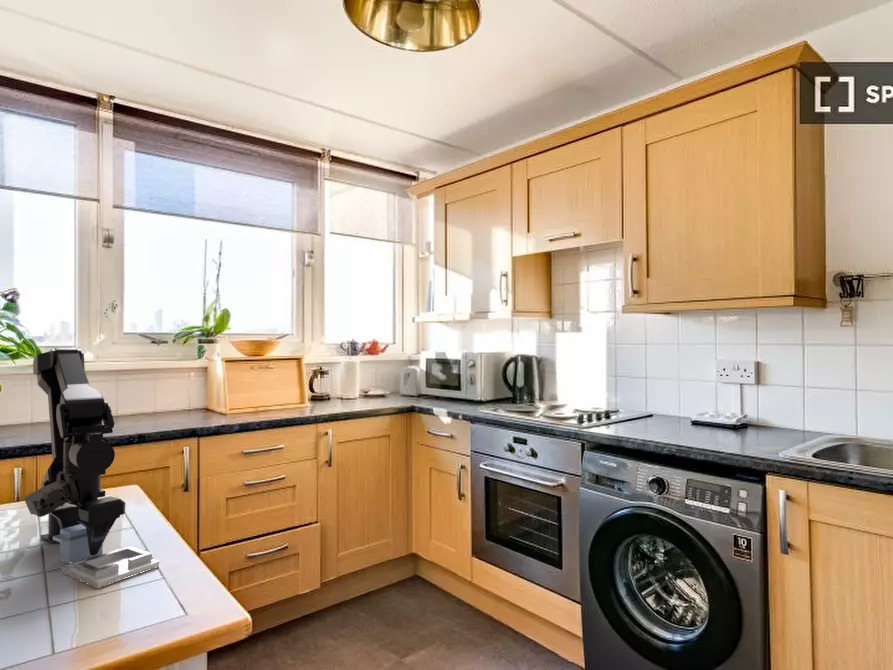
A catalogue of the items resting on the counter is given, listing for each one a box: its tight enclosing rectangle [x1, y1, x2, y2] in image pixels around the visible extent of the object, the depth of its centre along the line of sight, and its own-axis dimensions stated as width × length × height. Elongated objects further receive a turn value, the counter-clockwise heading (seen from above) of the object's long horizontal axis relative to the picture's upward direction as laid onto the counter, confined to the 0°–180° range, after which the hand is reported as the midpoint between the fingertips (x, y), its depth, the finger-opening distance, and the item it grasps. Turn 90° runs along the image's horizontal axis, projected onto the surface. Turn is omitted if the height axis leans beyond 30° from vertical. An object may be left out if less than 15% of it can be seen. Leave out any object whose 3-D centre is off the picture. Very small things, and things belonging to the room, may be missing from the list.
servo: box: [53, 524, 104, 564], centre depth 101 cm, size 8×3×6 cm, turn 148°
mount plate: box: [60, 545, 160, 589], centre depth 95 cm, size 12×10×2 cm
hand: (81, 550), depth 101 cm, fingers open, 8 cm apart
